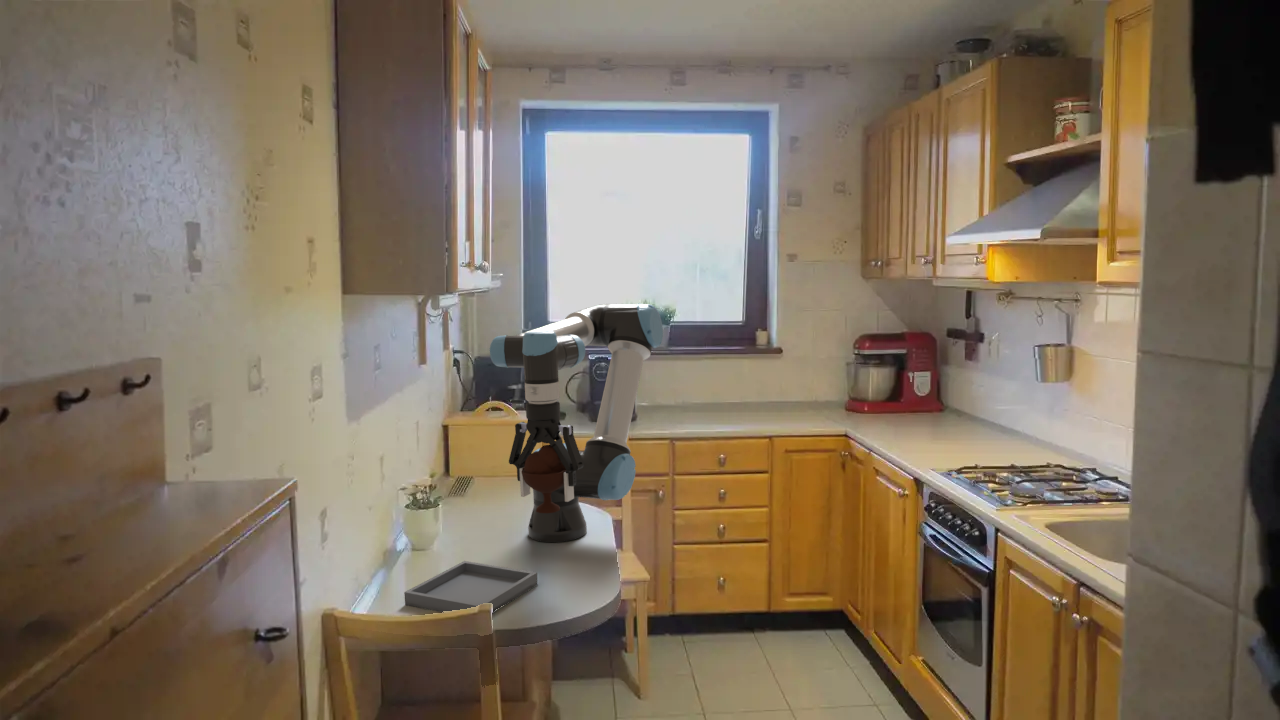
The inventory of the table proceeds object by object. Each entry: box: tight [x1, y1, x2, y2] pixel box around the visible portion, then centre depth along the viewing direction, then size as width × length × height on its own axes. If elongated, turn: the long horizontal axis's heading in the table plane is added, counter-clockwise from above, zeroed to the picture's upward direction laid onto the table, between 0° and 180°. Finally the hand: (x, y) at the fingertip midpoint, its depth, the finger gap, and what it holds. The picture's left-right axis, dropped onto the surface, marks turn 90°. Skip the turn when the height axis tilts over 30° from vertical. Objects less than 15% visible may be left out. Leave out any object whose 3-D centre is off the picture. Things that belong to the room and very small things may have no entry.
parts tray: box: [404, 560, 538, 613], centre depth 188 cm, size 20×20×3 cm
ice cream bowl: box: [522, 444, 567, 513], centre depth 195 cm, size 11×11×15 cm
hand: (547, 497), depth 196 cm, fingers closed on ice cream bowl, 11 cm apart
